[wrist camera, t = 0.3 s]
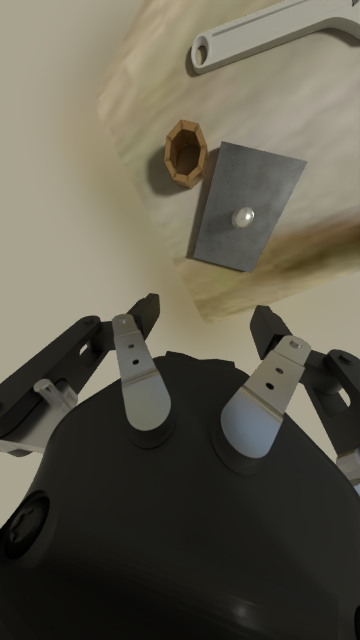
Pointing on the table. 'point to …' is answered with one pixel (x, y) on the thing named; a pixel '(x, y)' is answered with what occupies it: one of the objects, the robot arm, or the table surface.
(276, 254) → the table surface
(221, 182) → the block
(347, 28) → the adjustable wrench
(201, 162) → the wooden octagonal ring
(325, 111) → the table surface
